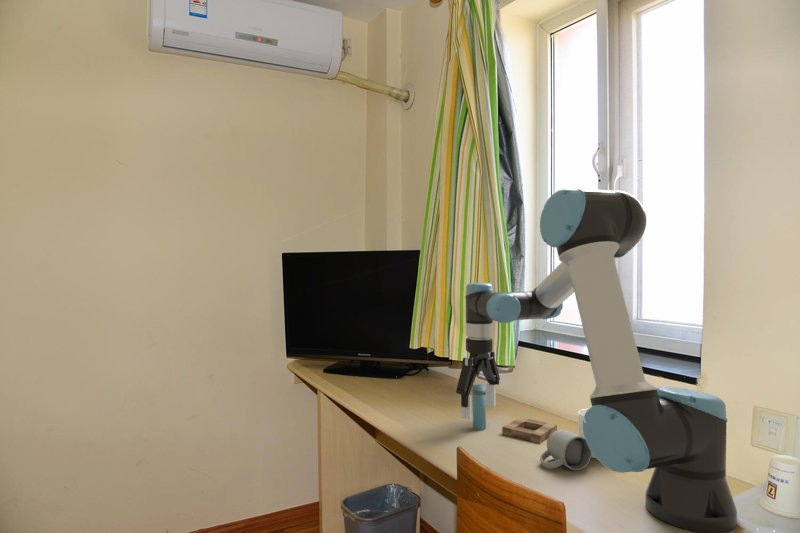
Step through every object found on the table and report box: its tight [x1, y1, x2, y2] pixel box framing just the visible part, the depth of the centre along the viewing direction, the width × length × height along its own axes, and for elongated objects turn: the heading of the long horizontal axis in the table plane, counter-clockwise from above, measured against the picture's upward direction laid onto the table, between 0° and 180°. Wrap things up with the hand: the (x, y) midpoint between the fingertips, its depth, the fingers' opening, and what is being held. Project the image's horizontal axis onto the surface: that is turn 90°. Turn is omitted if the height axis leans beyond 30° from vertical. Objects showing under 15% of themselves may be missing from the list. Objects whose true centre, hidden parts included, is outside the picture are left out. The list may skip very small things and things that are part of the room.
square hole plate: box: [501, 416, 558, 444], centre depth 144 cm, size 11×11×2 cm
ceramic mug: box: [539, 429, 592, 471], centre depth 122 cm, size 11×8×8 cm
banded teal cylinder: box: [471, 384, 487, 431], centre depth 148 cm, size 4×4×12 cm
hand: (479, 412), depth 148 cm, fingers open, 13 cm apart
